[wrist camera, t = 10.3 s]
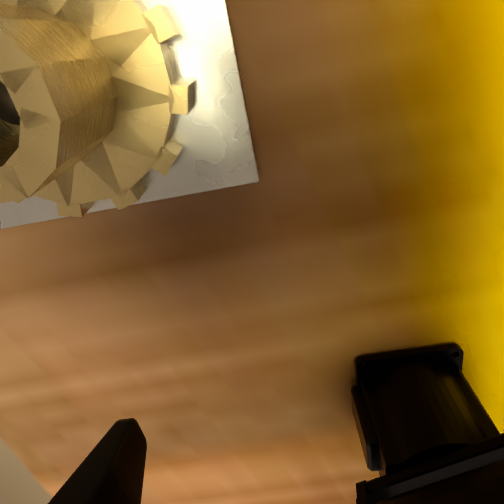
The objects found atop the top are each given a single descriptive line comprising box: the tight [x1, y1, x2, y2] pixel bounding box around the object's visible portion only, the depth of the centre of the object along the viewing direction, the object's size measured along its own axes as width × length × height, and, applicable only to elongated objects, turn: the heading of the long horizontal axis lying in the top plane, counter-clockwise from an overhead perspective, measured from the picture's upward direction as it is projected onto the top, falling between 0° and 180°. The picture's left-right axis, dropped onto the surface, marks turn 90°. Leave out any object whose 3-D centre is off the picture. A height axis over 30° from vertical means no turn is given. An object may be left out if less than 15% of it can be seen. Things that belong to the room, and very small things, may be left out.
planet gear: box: [0, 0, 193, 217], centre depth 13 cm, size 10×10×6 cm
